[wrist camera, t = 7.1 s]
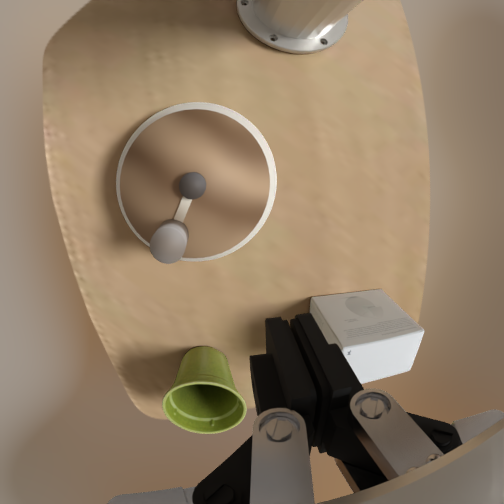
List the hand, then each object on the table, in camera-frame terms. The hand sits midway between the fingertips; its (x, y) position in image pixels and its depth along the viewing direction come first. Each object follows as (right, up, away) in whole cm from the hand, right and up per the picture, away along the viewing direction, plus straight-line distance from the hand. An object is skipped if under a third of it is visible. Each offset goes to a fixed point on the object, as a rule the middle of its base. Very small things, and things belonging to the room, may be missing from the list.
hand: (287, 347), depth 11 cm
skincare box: (+11, -4, +27) cm, 29 cm away
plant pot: (-8, -11, +26) cm, 30 cm away
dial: (-7, +10, +17) cm, 21 cm away
